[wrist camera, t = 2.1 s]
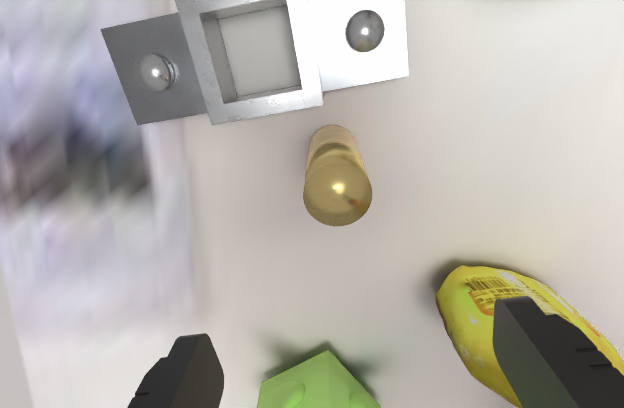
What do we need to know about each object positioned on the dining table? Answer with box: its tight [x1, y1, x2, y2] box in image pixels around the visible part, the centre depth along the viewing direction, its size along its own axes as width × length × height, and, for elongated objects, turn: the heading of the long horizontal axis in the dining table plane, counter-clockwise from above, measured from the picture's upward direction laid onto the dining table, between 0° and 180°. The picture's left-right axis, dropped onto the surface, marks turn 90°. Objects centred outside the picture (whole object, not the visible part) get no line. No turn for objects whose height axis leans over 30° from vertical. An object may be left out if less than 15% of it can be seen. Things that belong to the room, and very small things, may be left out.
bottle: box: [436, 265, 624, 408], centre depth 24 cm, size 12×6×20 cm, turn 81°
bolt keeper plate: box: [101, 0, 409, 125], centre depth 23 cm, size 20×8×4 cm, turn 100°
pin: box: [303, 125, 372, 226], centre depth 23 cm, size 4×4×10 cm
